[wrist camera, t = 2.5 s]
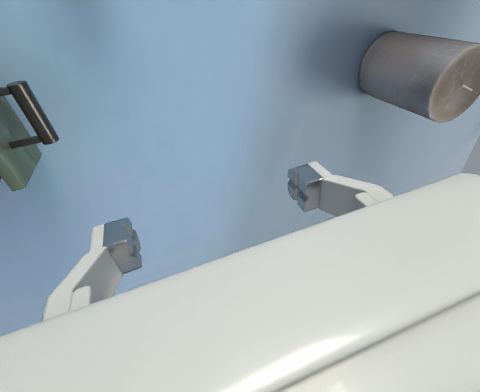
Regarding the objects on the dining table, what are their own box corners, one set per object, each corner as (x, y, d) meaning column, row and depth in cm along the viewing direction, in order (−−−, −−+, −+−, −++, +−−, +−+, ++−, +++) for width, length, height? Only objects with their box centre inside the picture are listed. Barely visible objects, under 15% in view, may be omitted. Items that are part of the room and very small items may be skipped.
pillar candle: (416, 54, 45) (514, 74, 34) (375, 105, 49) (452, 138, 37) (390, 15, 40) (497, 24, 28) (346, 76, 43) (426, 104, 32)
